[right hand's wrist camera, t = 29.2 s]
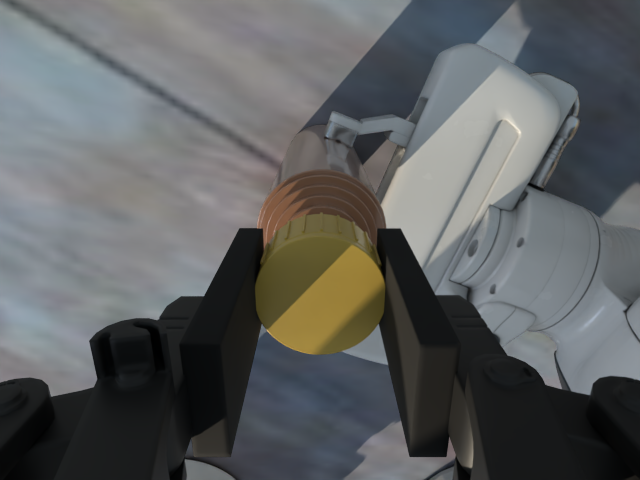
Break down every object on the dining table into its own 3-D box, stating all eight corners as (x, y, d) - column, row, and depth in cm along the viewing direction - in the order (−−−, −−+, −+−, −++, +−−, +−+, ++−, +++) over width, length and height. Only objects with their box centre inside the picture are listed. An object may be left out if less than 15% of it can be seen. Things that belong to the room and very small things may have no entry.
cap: (325, 186, 14) (326, 205, 12) (403, 272, 15) (417, 303, 13) (236, 263, 14) (223, 294, 12) (316, 339, 15) (315, 378, 13)
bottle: (344, 201, 35) (376, 368, 15) (279, 183, 34) (222, 333, 14) (364, 135, 33) (431, 225, 13) (296, 115, 32) (257, 179, 13)
